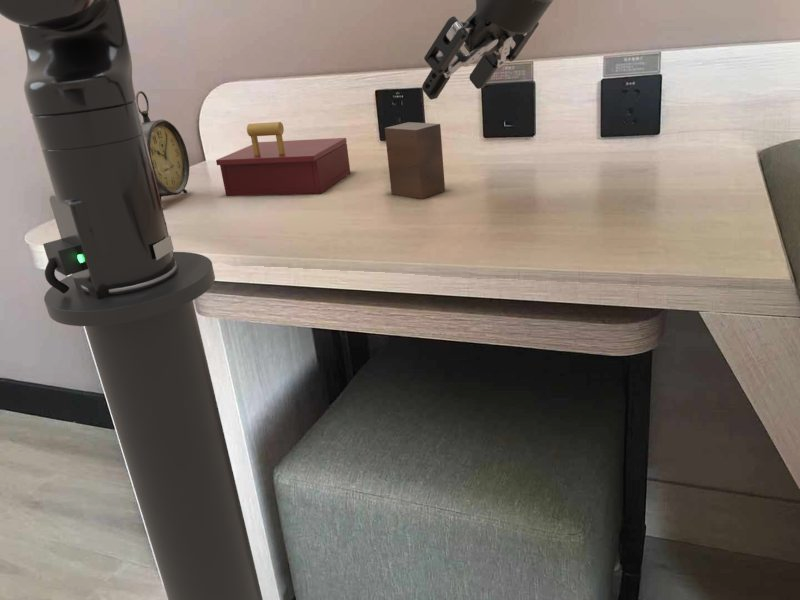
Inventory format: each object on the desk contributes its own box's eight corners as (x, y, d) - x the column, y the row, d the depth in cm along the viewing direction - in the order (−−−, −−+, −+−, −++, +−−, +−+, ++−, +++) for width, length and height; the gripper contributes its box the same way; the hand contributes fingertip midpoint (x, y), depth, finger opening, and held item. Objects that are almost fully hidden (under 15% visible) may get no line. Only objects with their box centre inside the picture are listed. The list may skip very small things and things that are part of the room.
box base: (321, 193, 98) (316, 160, 96) (226, 196, 103) (219, 164, 101) (350, 173, 109) (346, 143, 107) (263, 176, 114) (258, 147, 112)
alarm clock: (164, 211, 98) (136, 94, 91) (130, 212, 99) (100, 97, 92) (198, 191, 108) (175, 85, 101) (167, 193, 109) (142, 88, 102)
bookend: (422, 199, 90) (416, 130, 86) (391, 194, 94) (384, 128, 91) (445, 191, 93) (440, 123, 89) (414, 186, 97) (408, 122, 93)
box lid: (314, 161, 96) (308, 122, 94) (216, 165, 100) (209, 128, 98) (346, 142, 107) (342, 107, 105) (258, 147, 112) (252, 113, 110)
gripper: (545, -52, 76) (472, 59, 88) (461, -50, 67) (392, 73, 79) (587, -5, 74) (506, 102, 86) (506, 4, 65) (429, 122, 78)
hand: (452, 88), depth 83 cm, fingers open, 8 cm apart
